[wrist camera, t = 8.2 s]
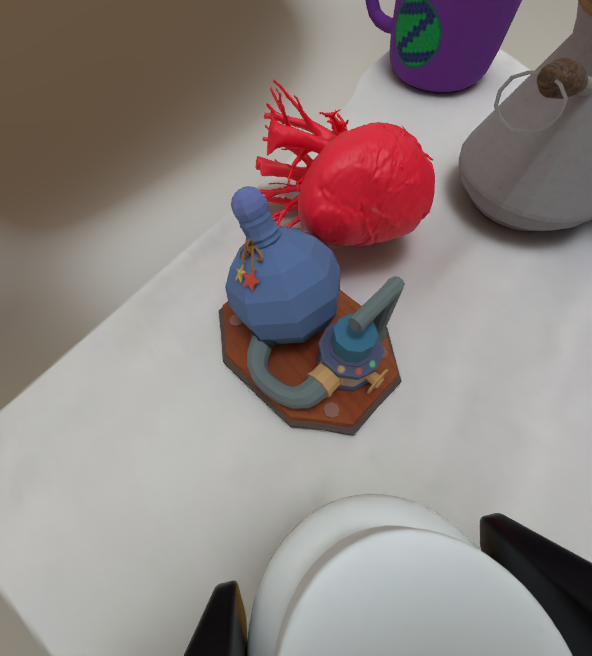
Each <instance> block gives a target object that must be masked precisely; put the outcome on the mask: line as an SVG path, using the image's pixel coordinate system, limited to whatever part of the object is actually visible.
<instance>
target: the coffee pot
mask: <svg viewBox="0 0 592 656" xmlns="http://www.w3.org/2000/svg"><path fill="white" fill-rule="evenodd" d="M528 74H531V75H530V76H529V77H528V78H527V79H526V80H525V81H524V82H523V83H522V84H521V85H520V86H519V87H518V88H517V89H516V90H515V91H514V92H513V93H512V94H511V95H510V96H509V97H507V98H506V99H505V100H504V101H503V102H502V103H501V104H500V105H499V106H498V103H499V99H500V96H501V92H502V90H503V89H504V88H505V87H506V86H507V85H508V84H509V83H510V82H511V81H512V80H513V79H514V78H518V77H521V76H524V75H528ZM494 108H495V110H494V111H493V112H492V113H491V114H490V115H489V116H488V117H487V118H486V119H485V120H484V121H483V122H482V123H481V124H480V125H479V126H478V127H477V128H476V129H475V130H474V131H473V132H472V133H471V134H470V136H469V137H468V138H467V140H466V141H465V142H464V144H463V145H462V149H461V153H460V157H459V170H460V176H461V181H462V183H463V185H464V187H465V189H466V190H467V192H468V194H469V196H470V197H471V199H472V200H473V202H474V204H475V206H476V207H477V208H478V209H479V210H480V211H481V212H482V213H483V214H484V215H485V216H487V217H488V218H490V219H491V220H493V221H494V222H496V223H499V224H501V225H503V226H506V227H509V228H513V229H517V230H521V231H540V230H542V231H548V230H558V229H565V228H572V227H575V226H577V225H580V224H582V223H584V222H587V221H589V220H591V219H592V0H578V10H577V18H576V22H575V26H574V29H573V33H572V35H570V36H569V37H568V39H566V40H565V41H564V43H562V44H561V45H560V46H559V47H558V48H557V49H556V50H555V51H554V52H553V53H552V54H551V55H550V56H549V57H548V58H547V59H546V60H545V61H544V62H543V63H542V64H541V65H540V66H539V67H538V68H537V69H536V70H535V71H526V72H523V73H519V74H516V75H513V76H511V77H510V78H509V79H508V80H507V81H506V82H505V83H504V84H503V86H502V87H501V88H500V89H499V90H498V93H497V96H496V100H495V104H494Z"/></svg>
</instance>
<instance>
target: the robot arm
mask: <svg viewBox="0 0 592 656" xmlns="http://www.w3.org/2000/svg"><path fill="white" fill-rule="evenodd" d="M480 547H481V551H482V552H483V553H485V554H486V555H488V556H489V557H491V558H492V559H493V560H495V561H496V562H497V563H499V564H500V565H501V566H503V567H504V568H505V569H506V570H508V571H509V572H510V573H511V574H512V575H513V576H514V577H515V578H516V579H517V580H518V581H519V582H520V583H522V584H523V585H524V586H525V588H526V589H527V590H528V591H529V592H530V593H531V594H532V595H533V597H534V598H535V599H536V600H537V601H538V603H539V604H540V605H541V606H542V608H543V609H544V610H545V612H546V613H547V614H548V616H549V617H550V619H551V620H552V622H553V623H554V625H555V627H556V628H557V629H558V631H559V632H560V634H561V636H562V637H563V639H564V641H565V642H566V644H567V646H568V648H569V650H570V652H571V654H572V656H592V563H591V562H589V561H587V560H585V559H583V558H581V557H580V556H578V555H576V554H574V553H572V552H570V551H569V550H567V549H565V548H563V547H561V546H560V545H558V544H556V543H554V542H552V541H550V540H549V539H547V538H545V537H543V536H541V535H539V534H538V533H536V532H534V531H532V530H530V529H528V528H527V527H525V526H523V525H521V524H519V523H518V522H516V521H514V520H512V519H510V518H508V517H507V516H505V515H503V514H500V513H494V514H490V515H486V516H483V517H481V519H480ZM247 643H248V642H247V626H246V615H245V610H244V605H243V602H242V598H241V594H240V590H239V586H238V583H237V582H236V581H229V582H225V583H221V584H218V585H217V586H216V587H215V589H214V591H213V593H212V595H211V597H210V599H209V602H208V604H207V606H206V608H205V610H204V613H203V615H202V617H201V619H200V621H199V623H198V626H197V628H196V630H195V632H194V634H193V636H192V639H191V641H190V643H189V645H188V647H187V649H186V652H185V654H184V656H247Z"/></svg>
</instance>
